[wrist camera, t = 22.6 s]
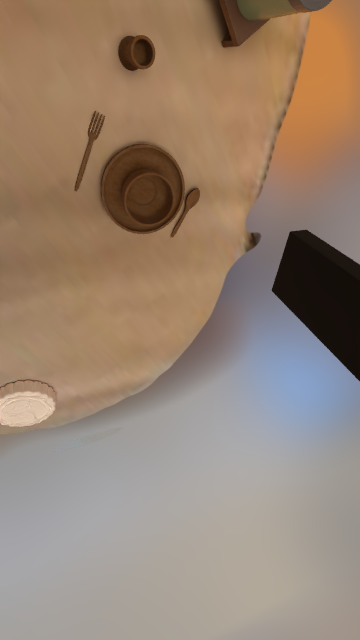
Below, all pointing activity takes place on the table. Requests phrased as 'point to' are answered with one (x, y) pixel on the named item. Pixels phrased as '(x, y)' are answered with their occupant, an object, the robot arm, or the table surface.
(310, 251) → the robot arm
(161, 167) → the place setting
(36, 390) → the mooncake
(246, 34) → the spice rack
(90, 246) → the table surface
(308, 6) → the spice jar
